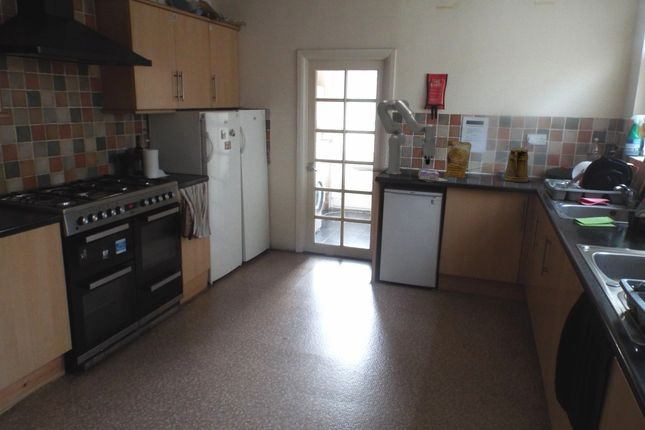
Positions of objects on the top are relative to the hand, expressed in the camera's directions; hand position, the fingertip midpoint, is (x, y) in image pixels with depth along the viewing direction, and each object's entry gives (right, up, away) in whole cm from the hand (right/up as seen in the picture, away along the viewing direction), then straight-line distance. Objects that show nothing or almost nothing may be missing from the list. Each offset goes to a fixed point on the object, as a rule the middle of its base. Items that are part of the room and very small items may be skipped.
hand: (427, 164), depth 375 cm
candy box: (0, -7, -1) cm, 7 cm away
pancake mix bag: (+25, -9, +10) cm, 28 cm away
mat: (+3, -12, -7) cm, 15 cm away
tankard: (+67, -13, -3) cm, 68 cm away
